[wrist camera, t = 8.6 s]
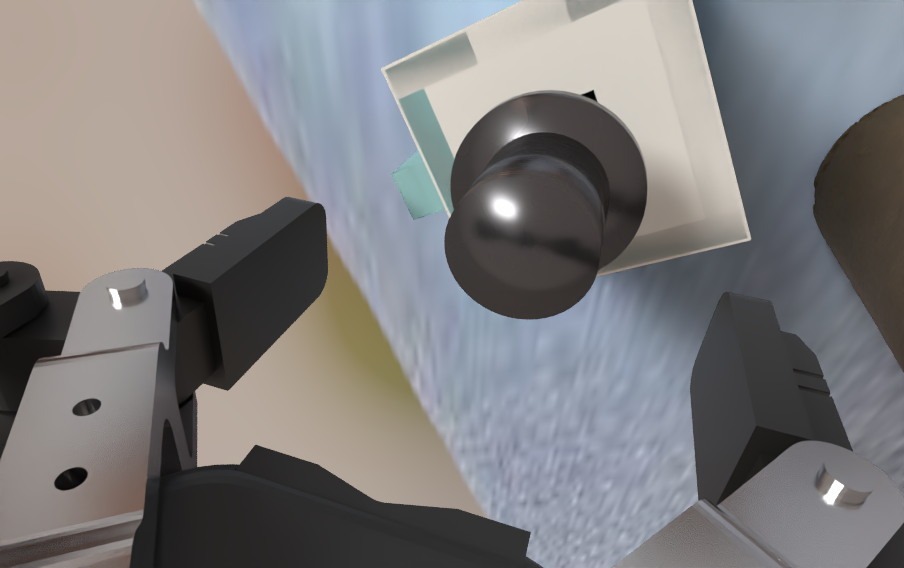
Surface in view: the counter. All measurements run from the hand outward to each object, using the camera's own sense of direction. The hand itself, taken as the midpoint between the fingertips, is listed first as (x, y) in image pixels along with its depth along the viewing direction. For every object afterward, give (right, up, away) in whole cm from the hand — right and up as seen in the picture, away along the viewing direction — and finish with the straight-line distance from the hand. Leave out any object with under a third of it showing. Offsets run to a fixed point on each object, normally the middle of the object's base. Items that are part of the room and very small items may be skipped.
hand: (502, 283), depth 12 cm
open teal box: (+6, +11, +19) cm, 22 cm away
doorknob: (+6, +9, +16) cm, 19 cm away
